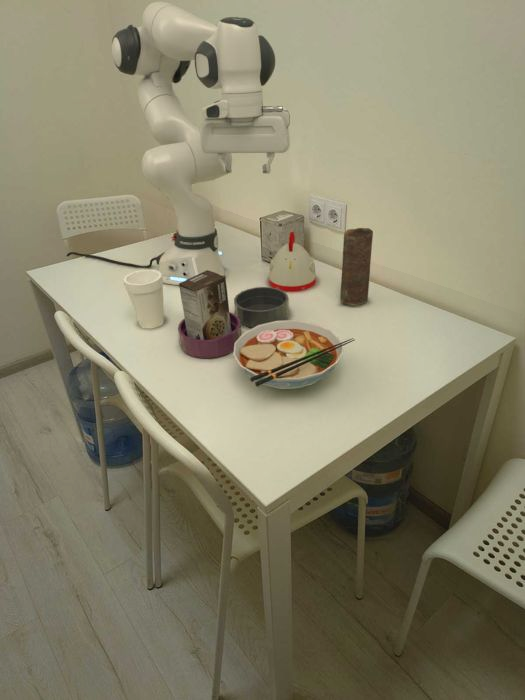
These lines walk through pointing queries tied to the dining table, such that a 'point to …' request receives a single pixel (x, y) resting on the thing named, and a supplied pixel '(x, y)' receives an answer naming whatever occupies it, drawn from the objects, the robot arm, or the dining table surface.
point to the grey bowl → (261, 306)
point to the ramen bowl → (288, 353)
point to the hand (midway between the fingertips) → (247, 172)
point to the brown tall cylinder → (356, 265)
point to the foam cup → (146, 296)
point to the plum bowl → (210, 341)
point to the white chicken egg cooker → (292, 268)
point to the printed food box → (206, 306)
